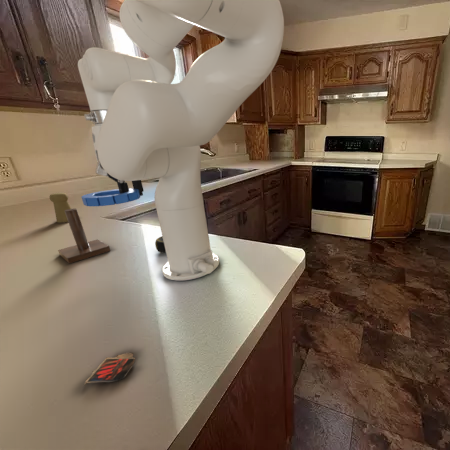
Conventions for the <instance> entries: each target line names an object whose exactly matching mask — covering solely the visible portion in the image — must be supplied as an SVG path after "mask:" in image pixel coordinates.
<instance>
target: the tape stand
mask: <svg viewBox="0 0 450 450" xmlns="http://www.w3.org/2000/svg"><path fill="white" fill-rule="evenodd" d="M65 214H66V217H67V219H68V222H67V223H68V225H69V228H70V230H71V234H72V236H73V239H74V243H75V245H72V246H68V247H64V248H61V249H58V250H57V252H58V254H59V256H60V257H61V258H62V259H64V260H65V261H66V262H67V263H68V264H72V263H76V262H79V261H82V260H85V259H88V258H89V259H90V258H92V257H95V256H98V255H101V254H104V253H108V252H111V248H110V246H109V244H106V243H105V242H103V241H101V240H99V239H97V238H96V239H93V240H90V241H88V238H87V235H86V232H85V229H84V227H83V223H82V221H81V218H80V217H81V216H80V215H79V211H78V209H77V208H72V209H68V210H65Z"/></svg>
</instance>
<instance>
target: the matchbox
mask: <svg viewBox="0 0 450 450" xmlns="http://www.w3.org/2000/svg"><path fill="white" fill-rule="evenodd" d="M133 356H134V353H133V352H132V353H130V352H125V353H122V354H117V355H116V356H115V357H106V358H105V359H104V360H103V361H102V362H101V363H100V364H99V365H98V367H97V368H96V369H95V370H92V371H91V372H92V374H91V375H90V376H89V377H88V378H86V379H85V382H84V384H83V387H86V385H87V384H92V383H93V384H95V383H96V384H97V383H102V384H103V385H104V384H106V383H112V382H117V381H121V380H124V379H125V378H126V376H127V375H128V374H129V373H130V372H131V371H133V370H131V369H132V367H133V366H134V363H135V360H136V357H133Z"/></svg>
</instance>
